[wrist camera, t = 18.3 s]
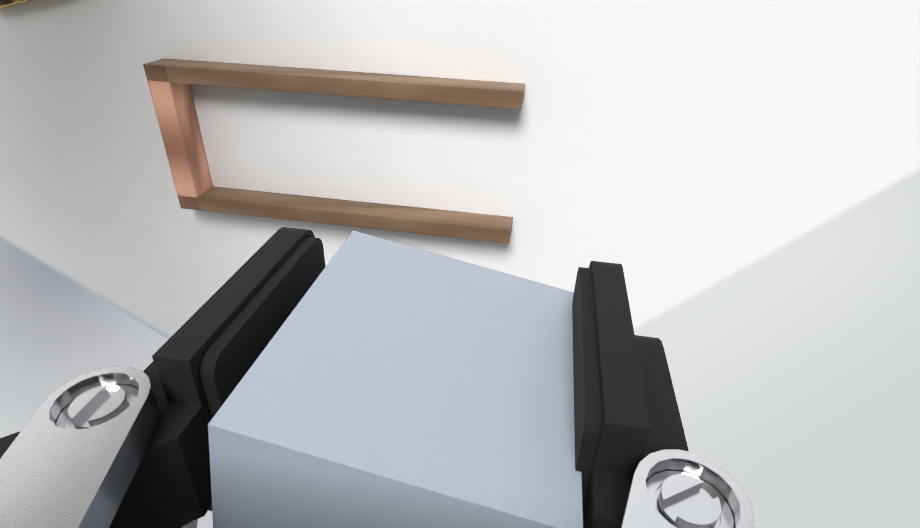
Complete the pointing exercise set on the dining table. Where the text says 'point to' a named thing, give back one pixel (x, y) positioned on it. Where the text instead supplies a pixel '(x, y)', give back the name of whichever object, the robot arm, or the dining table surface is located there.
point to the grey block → (405, 402)
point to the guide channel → (182, 125)
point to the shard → (10, 2)
